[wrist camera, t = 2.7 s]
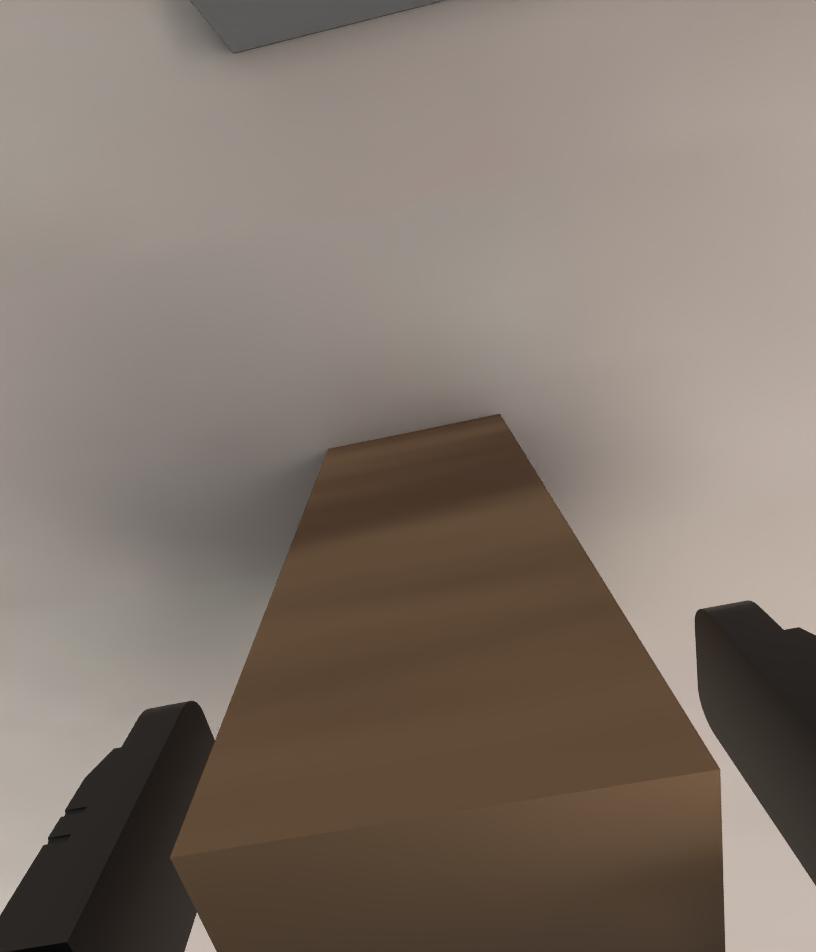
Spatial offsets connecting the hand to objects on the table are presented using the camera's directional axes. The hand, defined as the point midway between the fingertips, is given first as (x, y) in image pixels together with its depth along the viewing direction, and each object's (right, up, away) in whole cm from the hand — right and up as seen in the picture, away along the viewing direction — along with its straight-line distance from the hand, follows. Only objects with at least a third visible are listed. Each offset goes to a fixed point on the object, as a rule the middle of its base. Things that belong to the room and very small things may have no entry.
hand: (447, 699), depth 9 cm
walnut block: (0, +3, +6) cm, 7 cm away
